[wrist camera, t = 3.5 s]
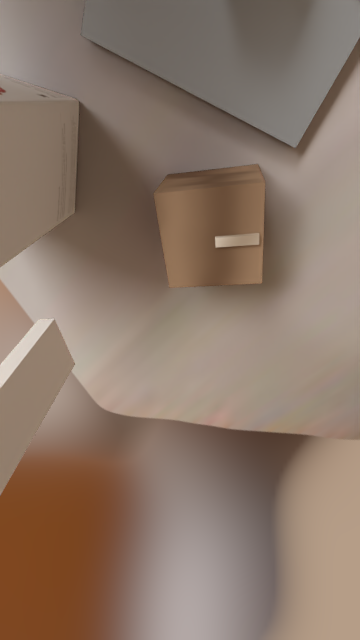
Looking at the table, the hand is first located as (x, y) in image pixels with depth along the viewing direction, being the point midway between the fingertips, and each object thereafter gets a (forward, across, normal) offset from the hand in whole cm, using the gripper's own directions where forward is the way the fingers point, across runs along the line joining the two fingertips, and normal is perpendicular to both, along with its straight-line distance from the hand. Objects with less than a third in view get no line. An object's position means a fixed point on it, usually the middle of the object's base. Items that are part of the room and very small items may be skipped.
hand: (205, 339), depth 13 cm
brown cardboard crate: (+17, 0, 0) cm, 17 cm away
